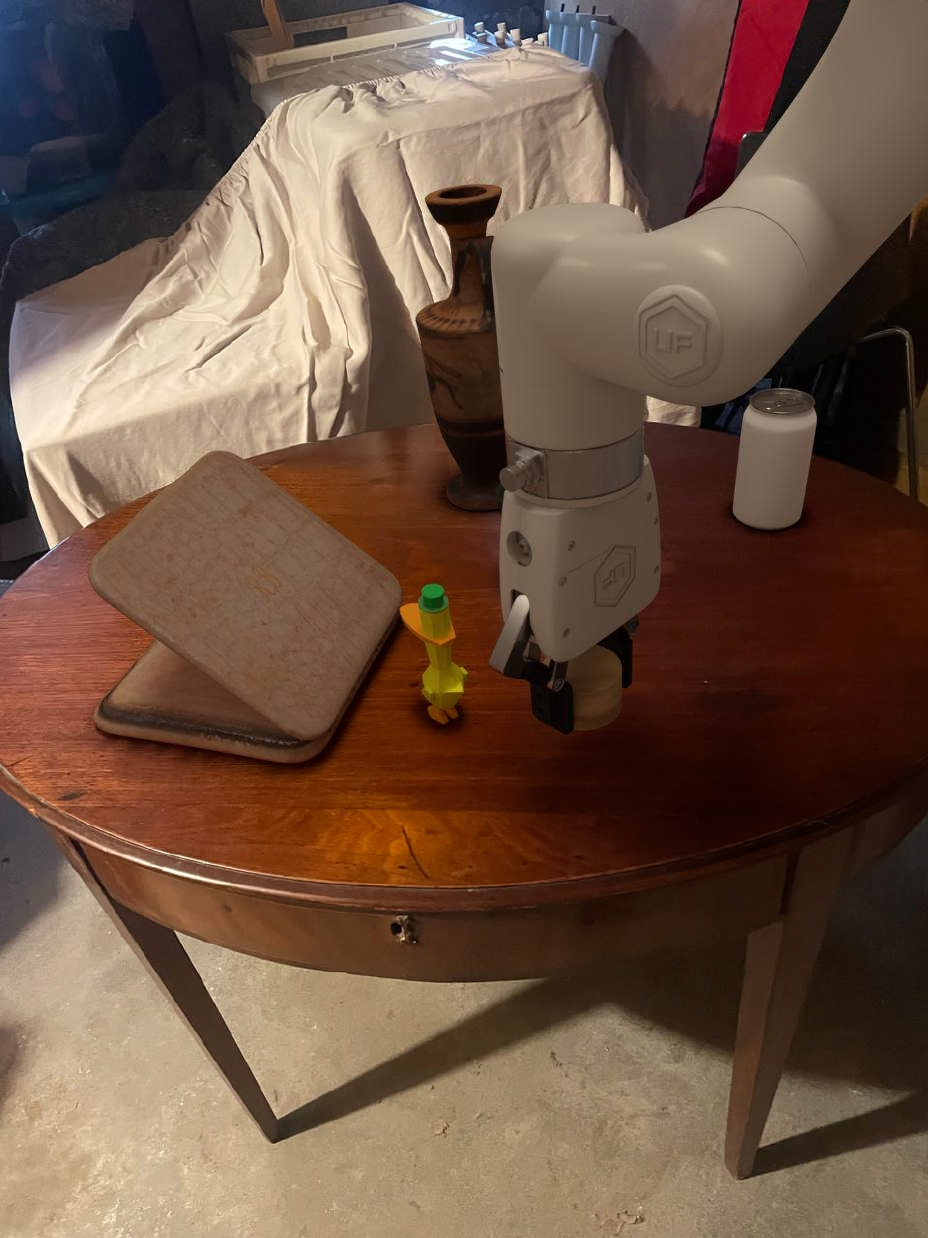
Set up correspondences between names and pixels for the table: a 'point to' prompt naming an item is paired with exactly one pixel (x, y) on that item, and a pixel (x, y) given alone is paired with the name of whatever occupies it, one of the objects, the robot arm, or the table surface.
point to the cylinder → (595, 687)
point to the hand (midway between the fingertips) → (582, 698)
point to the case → (240, 616)
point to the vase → (467, 348)
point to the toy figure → (436, 651)
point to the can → (774, 458)
